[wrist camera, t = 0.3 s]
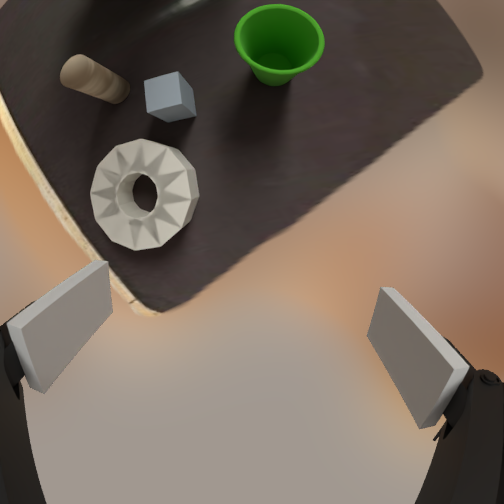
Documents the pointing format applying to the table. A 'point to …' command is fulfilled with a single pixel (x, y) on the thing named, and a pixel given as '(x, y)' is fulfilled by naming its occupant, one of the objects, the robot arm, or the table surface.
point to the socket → (122, 202)
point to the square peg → (169, 97)
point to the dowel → (94, 79)
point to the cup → (278, 42)
